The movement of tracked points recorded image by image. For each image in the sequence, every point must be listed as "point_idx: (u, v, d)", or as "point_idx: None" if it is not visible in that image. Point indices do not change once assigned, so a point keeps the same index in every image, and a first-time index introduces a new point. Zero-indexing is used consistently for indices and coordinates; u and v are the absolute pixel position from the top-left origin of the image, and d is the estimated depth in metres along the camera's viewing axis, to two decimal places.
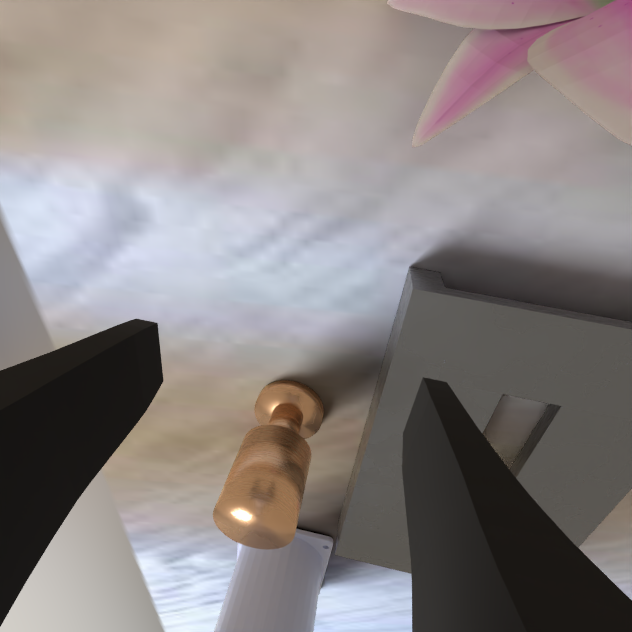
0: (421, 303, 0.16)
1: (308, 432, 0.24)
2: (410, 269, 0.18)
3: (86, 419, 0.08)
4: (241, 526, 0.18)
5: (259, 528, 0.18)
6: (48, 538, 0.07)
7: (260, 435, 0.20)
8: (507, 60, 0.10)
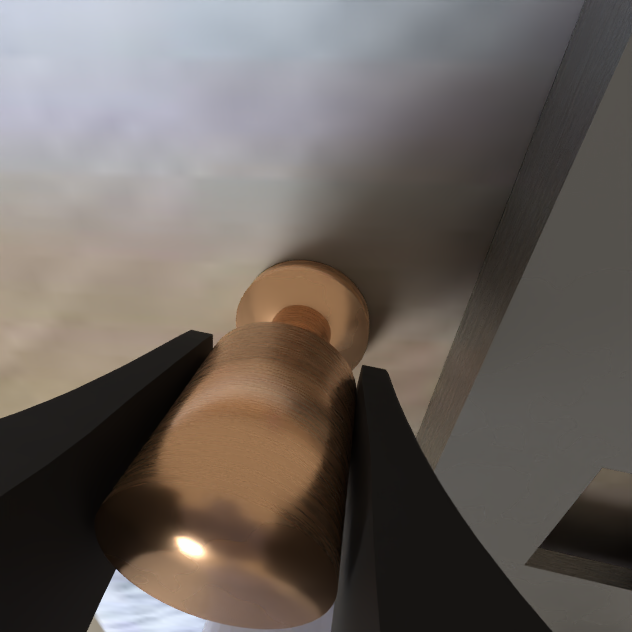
0: None
1: None
2: None
3: None
4: (180, 571, 0.06)
5: (230, 578, 0.06)
6: None
7: (241, 340, 0.08)
8: None
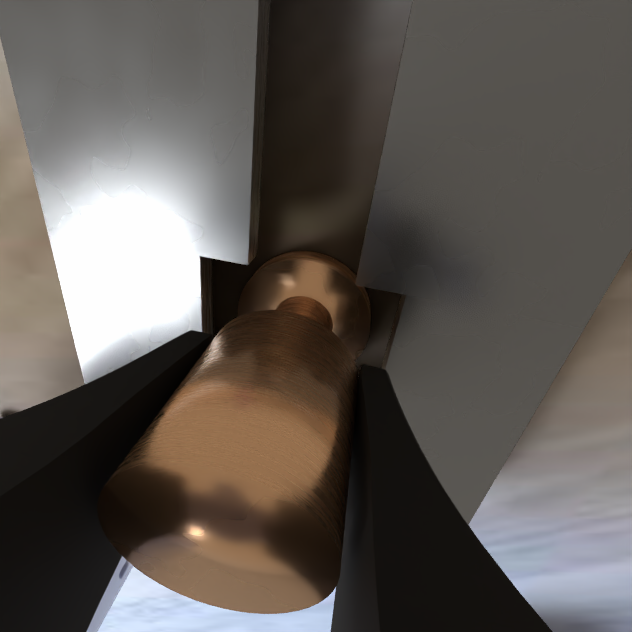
0: None
1: None
2: None
3: None
4: (183, 555, 0.06)
5: (233, 561, 0.06)
6: (119, 555, 0.07)
7: (239, 328, 0.08)
8: None
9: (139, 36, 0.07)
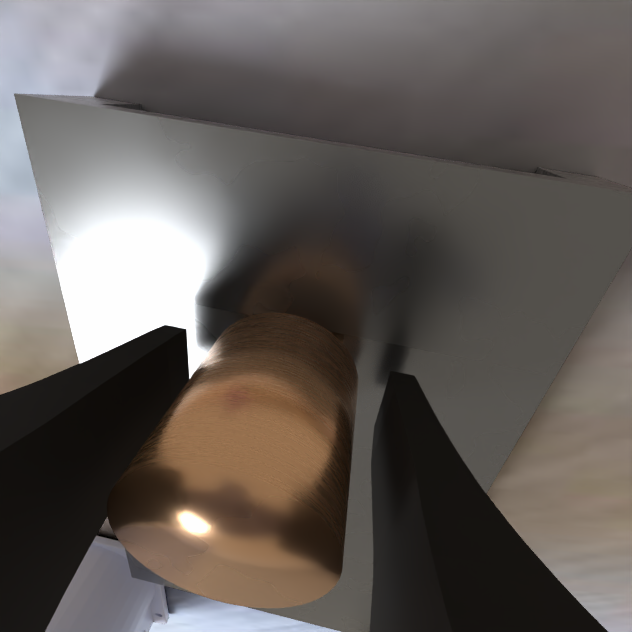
0: (42, 128, 0.09)
1: None
2: (86, 97, 0.10)
3: (122, 427, 0.08)
4: (191, 553, 0.06)
5: (239, 557, 0.06)
6: (86, 547, 0.07)
7: (241, 331, 0.08)
8: None
9: None
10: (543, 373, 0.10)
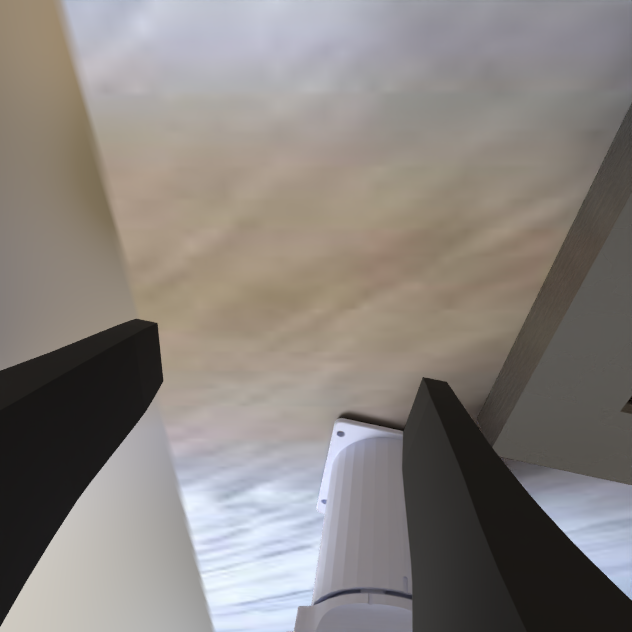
0: None
1: None
2: None
3: (86, 419, 0.08)
4: None
5: None
6: (49, 537, 0.07)
7: None
8: None
9: None
10: None
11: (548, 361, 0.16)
